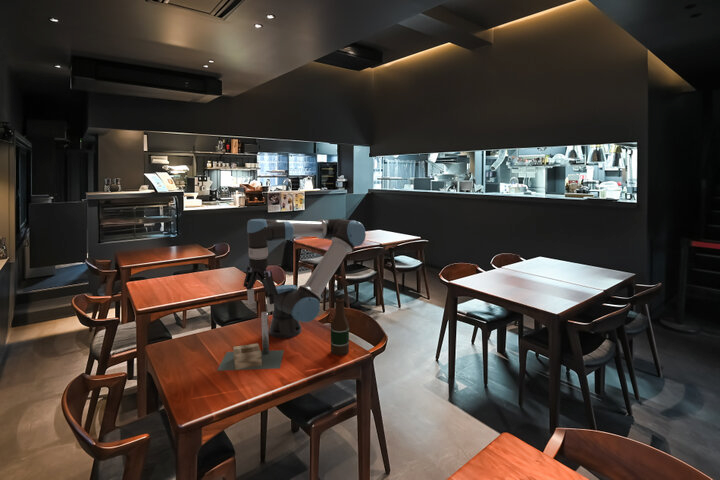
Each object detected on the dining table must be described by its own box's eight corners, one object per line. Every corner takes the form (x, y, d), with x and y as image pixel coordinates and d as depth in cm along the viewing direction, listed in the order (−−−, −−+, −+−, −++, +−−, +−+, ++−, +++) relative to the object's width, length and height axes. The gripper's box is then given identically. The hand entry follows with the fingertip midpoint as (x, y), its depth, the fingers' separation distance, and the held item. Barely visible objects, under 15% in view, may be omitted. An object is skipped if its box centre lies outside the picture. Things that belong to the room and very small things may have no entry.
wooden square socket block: (258, 354, 166) (258, 343, 165) (261, 365, 156) (261, 353, 156) (233, 358, 162) (233, 346, 161) (235, 369, 153) (234, 357, 152)
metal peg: (268, 351, 168) (267, 311, 165) (269, 354, 166) (268, 313, 163) (262, 352, 167) (260, 312, 164) (263, 355, 165) (261, 314, 162)
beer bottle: (340, 346, 175) (340, 294, 170) (352, 352, 169) (352, 298, 165) (327, 352, 169) (326, 298, 165) (339, 358, 164) (339, 302, 160)
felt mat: (284, 350, 170) (284, 350, 170) (279, 369, 154) (279, 368, 154) (227, 352, 168) (226, 351, 168) (216, 371, 152) (216, 370, 152)
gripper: (233, 254, 164) (236, 303, 168) (269, 263, 148) (271, 317, 152) (248, 251, 170) (251, 298, 174) (285, 260, 154) (287, 312, 158)
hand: (260, 307), depth 163 cm, fingers open, 13 cm apart
